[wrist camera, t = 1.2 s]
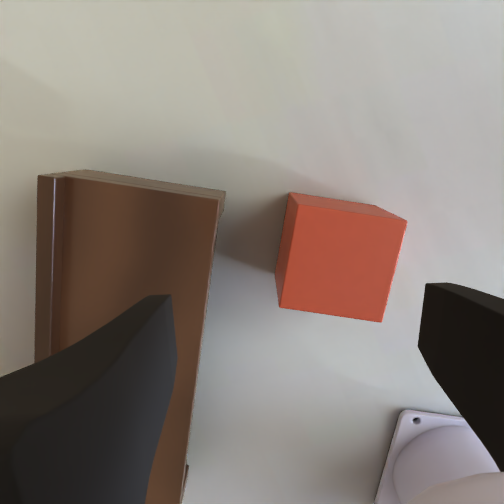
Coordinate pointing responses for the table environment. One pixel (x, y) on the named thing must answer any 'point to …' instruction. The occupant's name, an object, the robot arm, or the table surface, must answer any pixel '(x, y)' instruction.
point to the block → (337, 257)
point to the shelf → (128, 279)
